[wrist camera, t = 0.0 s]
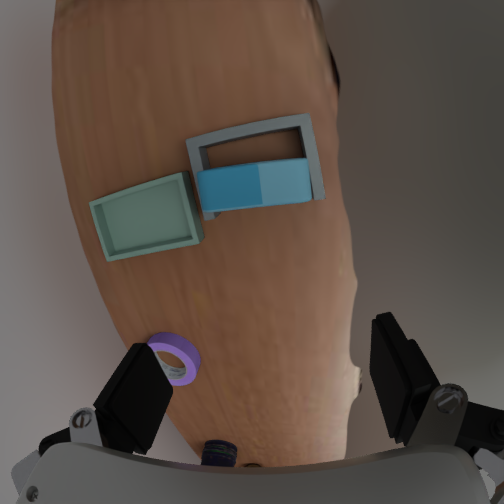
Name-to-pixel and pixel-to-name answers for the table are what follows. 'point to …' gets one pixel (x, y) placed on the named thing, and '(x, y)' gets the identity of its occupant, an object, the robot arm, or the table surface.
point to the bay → (299, 122)
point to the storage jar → (219, 454)
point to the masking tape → (182, 351)
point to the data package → (255, 185)
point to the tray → (148, 218)
